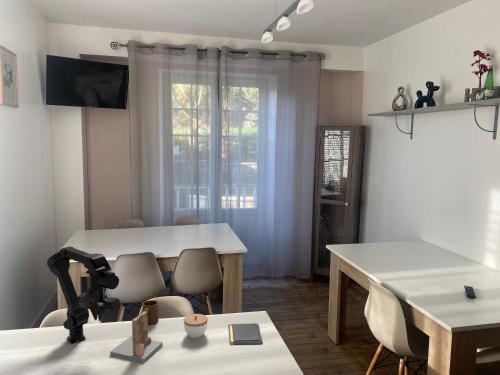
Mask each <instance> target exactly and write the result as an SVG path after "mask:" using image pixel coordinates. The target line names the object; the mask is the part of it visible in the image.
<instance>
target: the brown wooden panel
mask: <svg viewBox="0 0 500 375" xmlns="http://www.w3.org/2000/svg"><path fill="white" fill-rule="evenodd" d="M148 327H149V325H148V318H147V312H146V311H144V312H143V313H142V312H141V313H140V314H138V315H137V316H136V317H134V318H133V319H132V320H131V331H132V332H131V333H132V335H131V336H132V341H133V353H134V354H136V347H135V346H136V345H137V344H138V343H141V344H144V346H145V345H146V344H148V336H149V335H148V334H149V330H148Z"/></svg>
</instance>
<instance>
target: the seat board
mask: <svg viewBox="0 0 500 375" xmlns="http://www.w3.org/2000/svg"><path fill="white" fill-rule="evenodd" d="M135 347H136V354H134V353H133V341H132V335H130V336H129V337H127V339H125V340H123V341H122V342H121V343H120V344H118V345H116V346H115V348H112V350H110V352H109V354H110V356H112V357H113V356H114V357H118V358H123V359H126V360H130V361H131V360H132V361H135V362H141V363H145V362H146V361H148V360H149V358H151V357H152V356H153V355H154V354H155V353H156V352H157V351H158V350H159V349H161V348H162V347H163V341H157V340H153V339H152V337H151V336H149V335H148V344H146V345H145V346H144V344H141V343H138V344H137V345H136V346H135Z"/></svg>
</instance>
